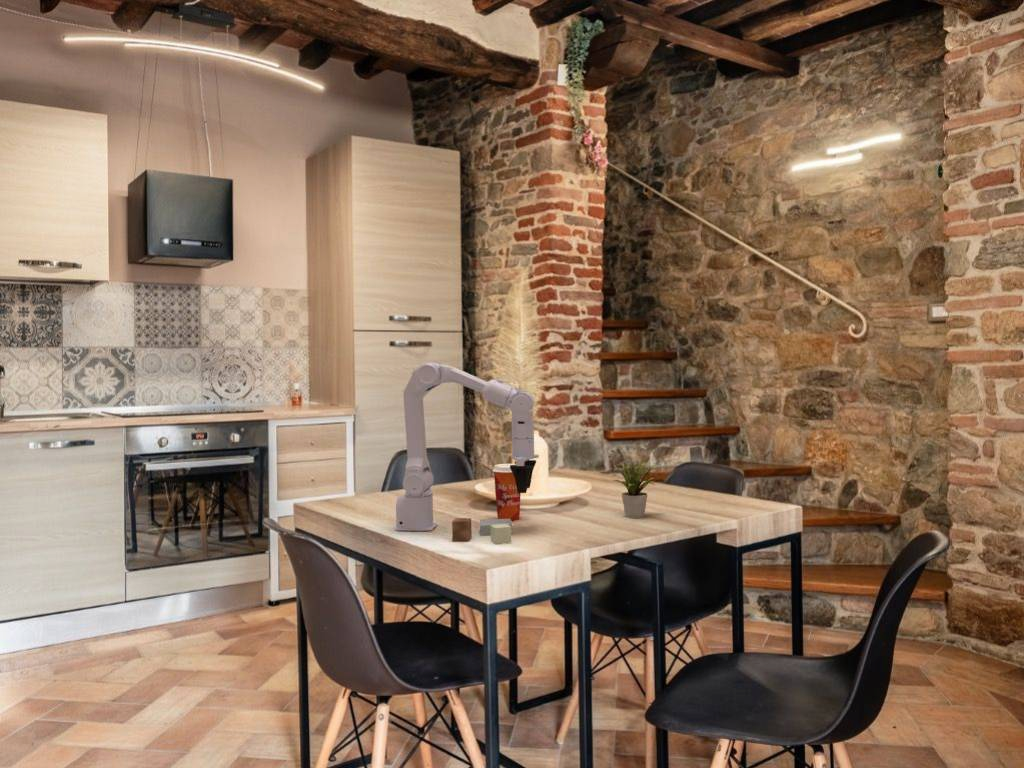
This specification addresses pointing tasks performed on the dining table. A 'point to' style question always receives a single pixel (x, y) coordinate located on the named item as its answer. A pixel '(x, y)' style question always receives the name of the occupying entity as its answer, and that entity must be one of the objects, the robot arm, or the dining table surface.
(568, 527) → the dining table surface
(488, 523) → the base block
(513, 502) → the coffee cup
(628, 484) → the house plant
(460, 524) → the walnut block
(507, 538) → the sage block
